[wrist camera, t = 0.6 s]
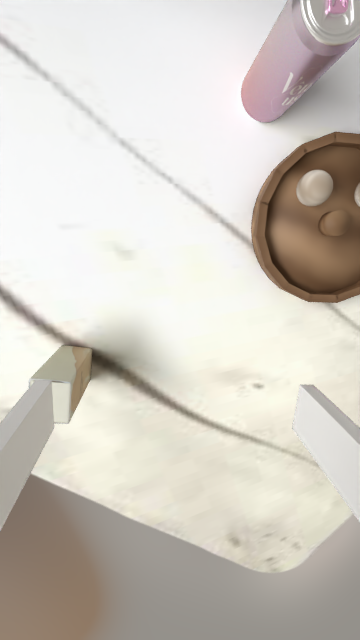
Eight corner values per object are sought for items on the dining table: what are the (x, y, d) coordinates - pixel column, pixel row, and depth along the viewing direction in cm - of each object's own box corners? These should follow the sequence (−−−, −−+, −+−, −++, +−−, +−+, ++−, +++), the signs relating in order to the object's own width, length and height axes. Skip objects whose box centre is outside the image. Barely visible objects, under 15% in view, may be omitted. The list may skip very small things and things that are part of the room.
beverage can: (289, 65, 35) (386, -60, 20) (287, 123, 36) (376, 46, 22) (239, 66, 34) (301, -62, 20) (239, 125, 36) (296, 46, 21)
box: (90, 380, 43) (69, 427, 32) (59, 378, 42) (27, 424, 31) (92, 346, 41) (71, 382, 31) (60, 343, 41) (27, 379, 30)
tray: (260, 133, 36) (269, 124, 33) (412, 146, 38) (434, 138, 35) (244, 296, 41) (250, 300, 38) (379, 300, 43) (395, 305, 40)
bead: (292, 172, 37) (309, 164, 33) (323, 174, 37) (343, 167, 33) (288, 207, 38) (303, 203, 34) (318, 209, 38) (337, 205, 34)
